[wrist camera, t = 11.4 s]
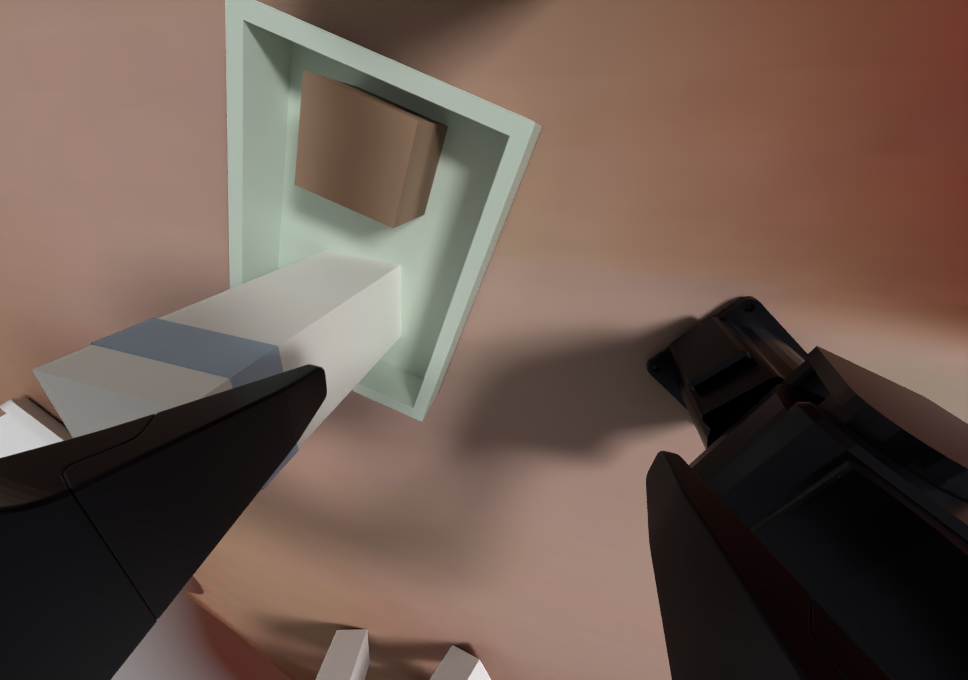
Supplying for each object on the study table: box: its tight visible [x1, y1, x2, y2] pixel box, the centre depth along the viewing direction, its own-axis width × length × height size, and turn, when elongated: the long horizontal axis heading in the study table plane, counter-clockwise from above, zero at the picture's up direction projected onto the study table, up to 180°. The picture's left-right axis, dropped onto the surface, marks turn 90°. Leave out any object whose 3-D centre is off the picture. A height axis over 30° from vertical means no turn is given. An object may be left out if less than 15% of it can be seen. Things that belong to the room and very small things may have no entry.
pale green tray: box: [225, 0, 542, 422], centre depth 20 cm, size 14×18×4 cm
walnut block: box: [294, 70, 448, 228], centre depth 17 cm, size 5×4×4 cm
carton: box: [31, 250, 401, 490], centre depth 17 cm, size 5×5×14 cm
